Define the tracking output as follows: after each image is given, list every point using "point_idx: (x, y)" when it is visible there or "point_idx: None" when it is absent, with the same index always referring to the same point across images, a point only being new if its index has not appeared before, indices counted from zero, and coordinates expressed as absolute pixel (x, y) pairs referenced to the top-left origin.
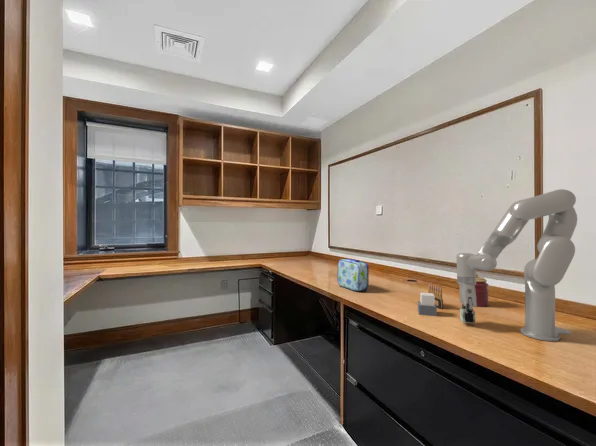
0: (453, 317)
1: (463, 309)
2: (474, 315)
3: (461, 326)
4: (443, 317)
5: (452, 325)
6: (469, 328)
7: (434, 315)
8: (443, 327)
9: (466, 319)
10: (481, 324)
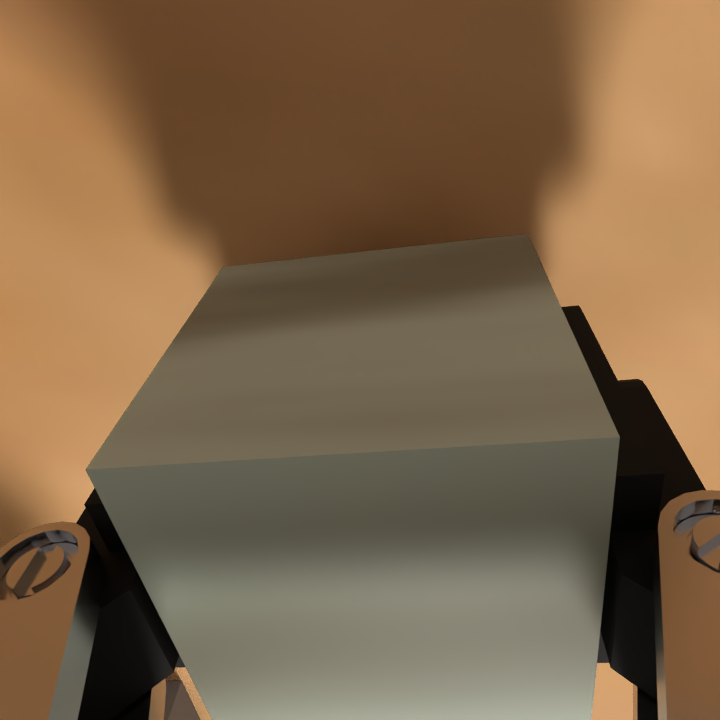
0: (64, 504)
1: (320, 689)
2: (577, 369)
3: None
4: None
5: None
6: (650, 333)
7: (185, 708)
8: None
9: None
10: (203, 15)
